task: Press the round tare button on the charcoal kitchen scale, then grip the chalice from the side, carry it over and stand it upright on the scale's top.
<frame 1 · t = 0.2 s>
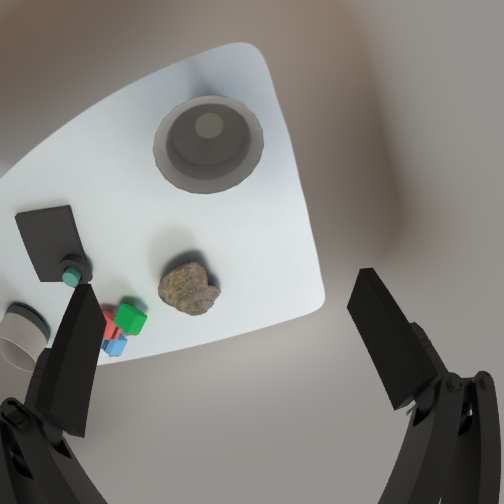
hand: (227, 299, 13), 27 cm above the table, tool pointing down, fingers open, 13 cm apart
tare button: (71, 276, 38), point 3 cm above the table, slide at 0.1 cm
fossilized seashell: (191, 277, 46), on the table
scale: (53, 245, 38), on the table
chalice: (209, 114, 32), on the table
building blocks: (123, 318, 50), on the table
planter: (29, 320, 47), on the table
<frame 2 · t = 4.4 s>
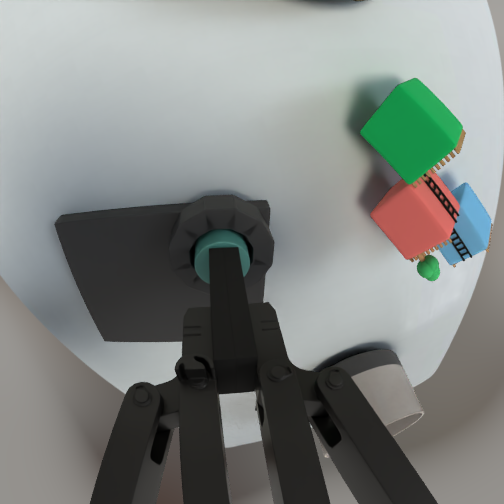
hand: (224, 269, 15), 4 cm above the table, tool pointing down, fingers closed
tare button: (221, 256, 16), point 3 cm above the table, slide at -0.5 cm, touching gripper
scale: (167, 279, 20), on the table
building blocks: (413, 165, 17), on the table
planter: (349, 369, 33), on the table
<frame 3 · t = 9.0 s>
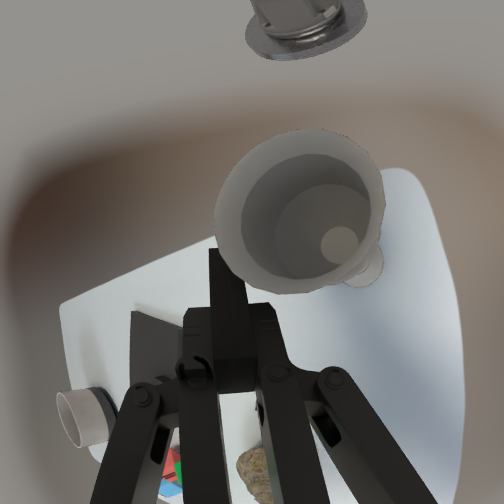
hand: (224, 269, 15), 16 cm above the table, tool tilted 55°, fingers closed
fossilized seashell: (287, 465, 26), on the table
scale: (156, 361, 40), on the table
chalice: (359, 261, 26), on the table, touching gripper
building blocks: (194, 470, 34), on the table
planter: (107, 412, 48), on the table
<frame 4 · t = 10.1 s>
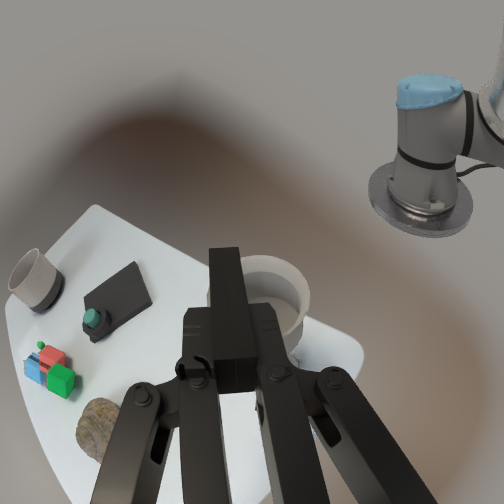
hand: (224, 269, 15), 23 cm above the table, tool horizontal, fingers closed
tare button: (91, 318, 41), point 3 cm above the table, slide at 0.1 cm
fossilized seashell: (116, 435, 30), on the table
scale: (115, 302, 47), on the table
chalice: (278, 370, 32), on the table
building blocks: (60, 381, 38), on the table
planter: (49, 294, 56), on the table
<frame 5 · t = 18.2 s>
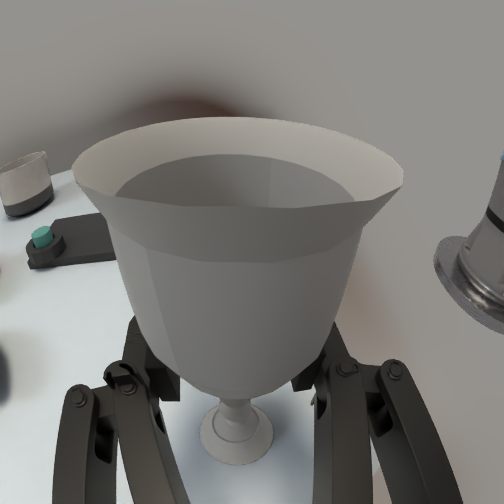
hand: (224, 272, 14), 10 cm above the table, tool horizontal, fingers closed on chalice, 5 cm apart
tare button: (42, 237, 29), point 3 cm above the table, slide at 0.1 cm
scale: (81, 240, 35), on the table
chalice: (236, 433, 16), on the table, touching gripper
planter: (30, 207, 45), on the table
when the fingers open (11 cm above the table, at t = 29.6 s): chalice stays where it is, resting on scale.
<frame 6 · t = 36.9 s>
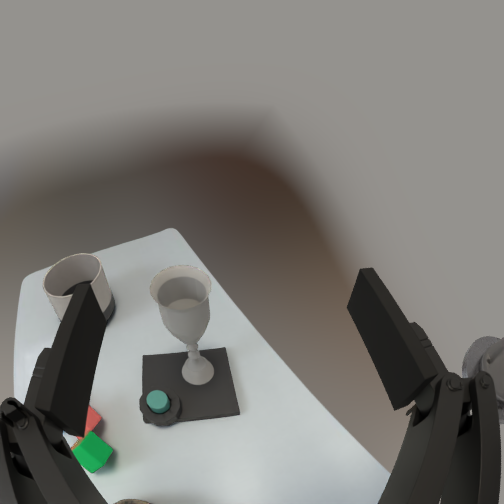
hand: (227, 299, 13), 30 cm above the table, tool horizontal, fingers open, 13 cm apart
tare button: (158, 401, 32), point 3 cm above the table, slide at 0.1 cm
scale: (187, 386, 38), on the table
chalice: (197, 371, 40), point 1 cm above the table, touching scale
building blocks: (80, 438, 28), on the table
planter: (89, 313, 49), on the table
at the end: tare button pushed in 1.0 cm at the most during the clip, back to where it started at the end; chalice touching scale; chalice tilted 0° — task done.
